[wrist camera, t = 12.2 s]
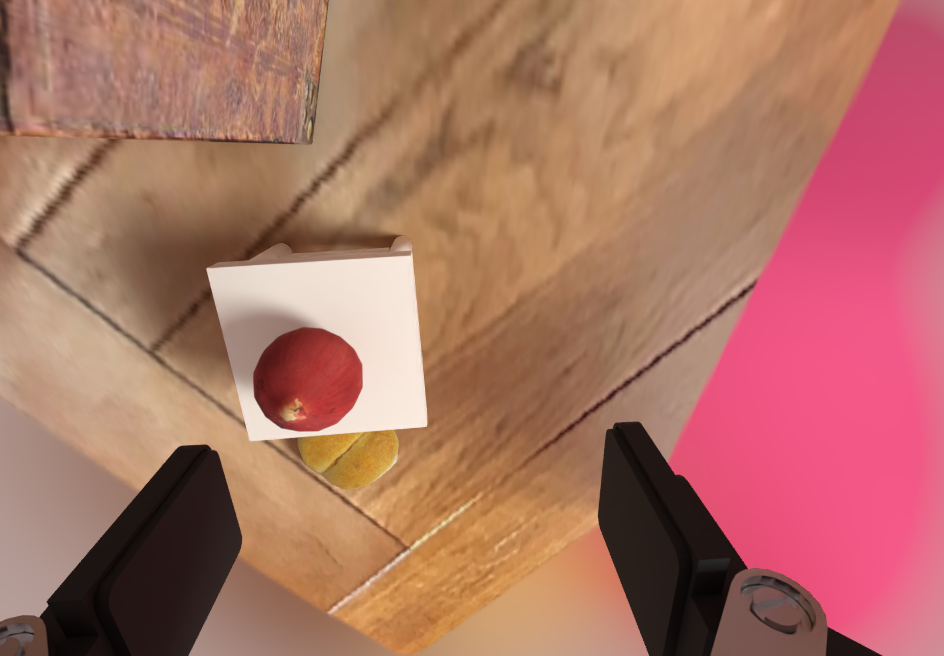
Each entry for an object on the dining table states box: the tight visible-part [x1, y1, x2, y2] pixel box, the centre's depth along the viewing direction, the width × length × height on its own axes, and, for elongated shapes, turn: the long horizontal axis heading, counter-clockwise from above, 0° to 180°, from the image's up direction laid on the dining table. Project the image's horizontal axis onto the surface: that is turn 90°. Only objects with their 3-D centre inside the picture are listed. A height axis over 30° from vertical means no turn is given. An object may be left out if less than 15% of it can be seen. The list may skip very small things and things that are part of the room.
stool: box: [206, 236, 427, 441], centre depth 35 cm, size 12×12×10 cm
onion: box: [253, 327, 363, 432], centre depth 26 cm, size 6×6×8 cm
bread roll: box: [298, 430, 398, 489], centre depth 42 cm, size 8×9×4 cm
